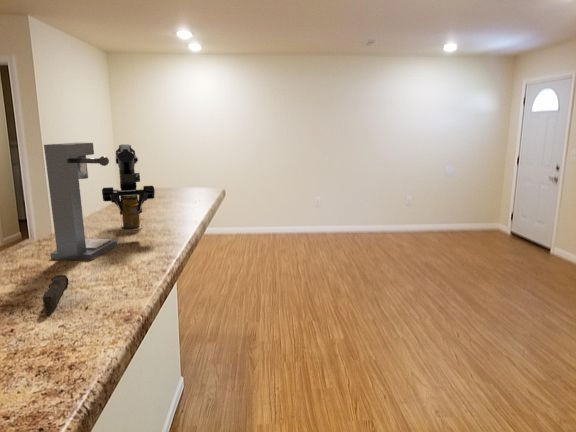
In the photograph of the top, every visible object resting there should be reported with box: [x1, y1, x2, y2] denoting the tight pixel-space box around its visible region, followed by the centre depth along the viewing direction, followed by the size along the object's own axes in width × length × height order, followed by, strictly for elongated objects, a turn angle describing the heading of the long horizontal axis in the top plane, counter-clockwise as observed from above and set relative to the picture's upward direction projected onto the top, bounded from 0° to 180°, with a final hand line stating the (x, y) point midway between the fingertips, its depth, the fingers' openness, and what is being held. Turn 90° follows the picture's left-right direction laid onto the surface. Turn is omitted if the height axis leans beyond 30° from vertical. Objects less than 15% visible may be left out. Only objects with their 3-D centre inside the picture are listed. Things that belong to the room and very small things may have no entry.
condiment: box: [120, 196, 143, 231], centre depth 153 cm, size 7×8×12 cm
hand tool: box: [42, 274, 70, 316], centre depth 103 cm, size 19×4×5 cm, turn 18°
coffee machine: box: [43, 142, 118, 261], centre depth 138 cm, size 20×22×38 cm
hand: (130, 211), depth 152 cm, fingers closed on condiment, 6 cm apart
